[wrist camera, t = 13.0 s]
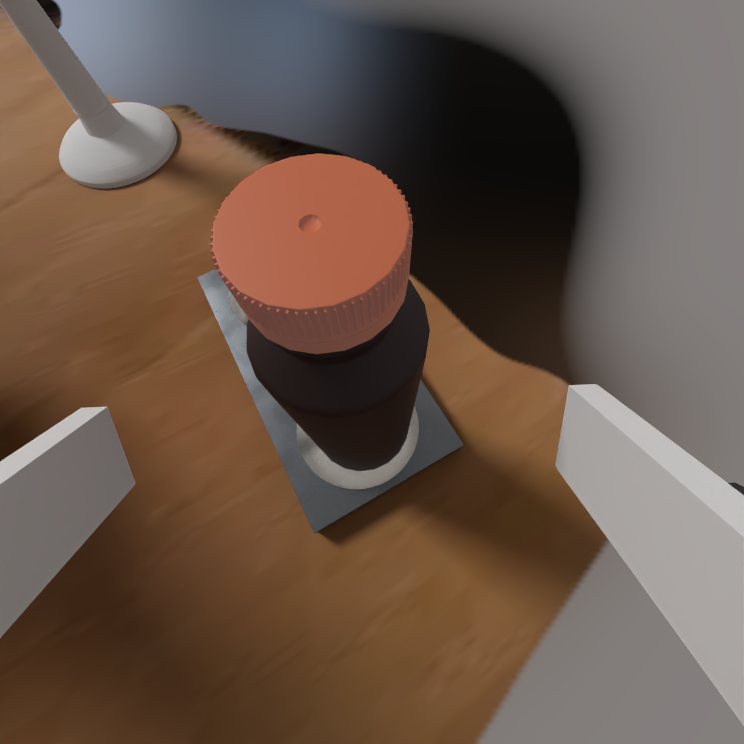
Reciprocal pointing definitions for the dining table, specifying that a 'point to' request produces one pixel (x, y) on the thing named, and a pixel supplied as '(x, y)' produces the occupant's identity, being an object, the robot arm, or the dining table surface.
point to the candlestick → (95, 112)
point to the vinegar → (328, 300)
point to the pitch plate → (304, 458)
